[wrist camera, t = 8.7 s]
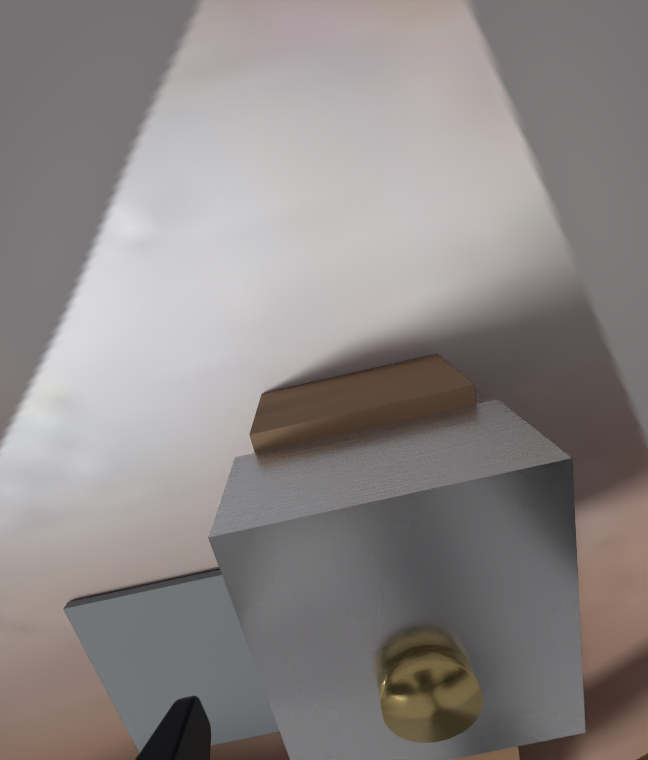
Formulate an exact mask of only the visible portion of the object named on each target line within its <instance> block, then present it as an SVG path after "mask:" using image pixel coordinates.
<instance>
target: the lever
mask: <svg viewBox="0 0 648 760" xmlns="http://www.w3.org/2000/svg"><path fill="white" fill-rule="evenodd" d="M637 760H648V754H646V755H644V756H642V757H640V758H639V759H637Z"/></svg>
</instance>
